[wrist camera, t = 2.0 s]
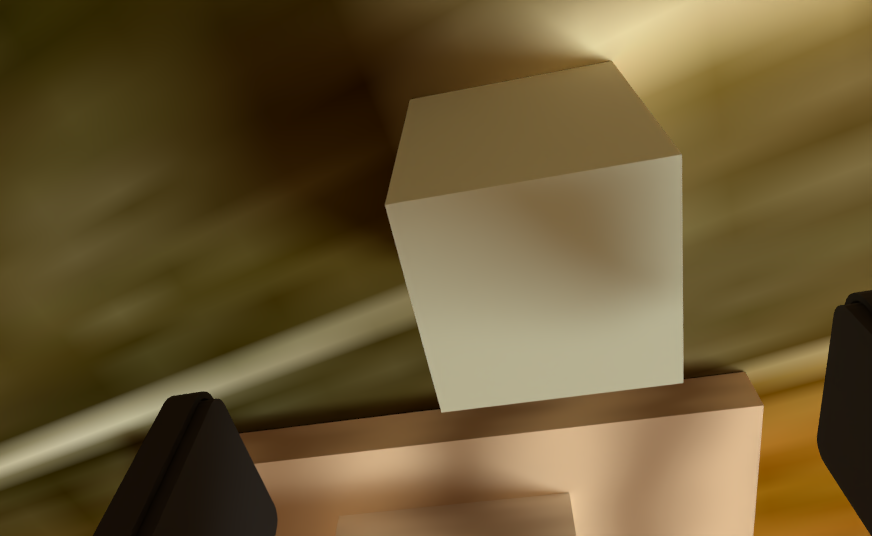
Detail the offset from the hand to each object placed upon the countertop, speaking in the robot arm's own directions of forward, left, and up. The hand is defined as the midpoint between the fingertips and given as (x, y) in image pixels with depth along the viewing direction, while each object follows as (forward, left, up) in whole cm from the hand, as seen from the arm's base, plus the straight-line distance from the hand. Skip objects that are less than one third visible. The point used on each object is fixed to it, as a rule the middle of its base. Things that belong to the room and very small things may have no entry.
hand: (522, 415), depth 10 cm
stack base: (+3, +15, -9) cm, 17 cm away
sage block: (-1, 0, -9) cm, 9 cm away
